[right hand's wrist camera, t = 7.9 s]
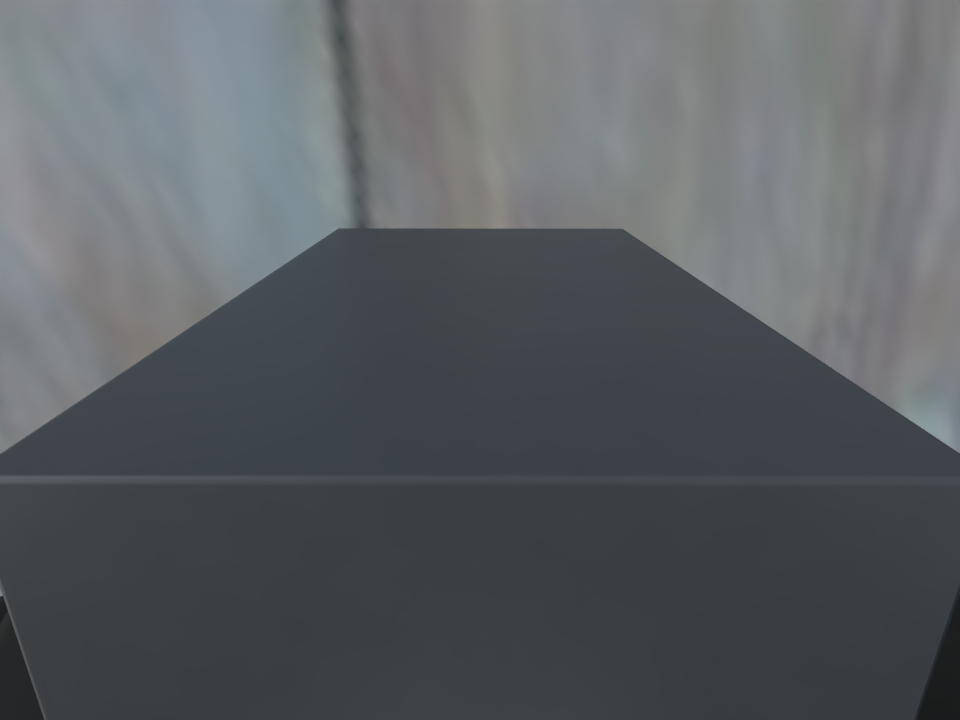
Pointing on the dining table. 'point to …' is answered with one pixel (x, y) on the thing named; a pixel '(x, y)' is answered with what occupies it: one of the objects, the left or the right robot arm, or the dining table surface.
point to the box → (480, 504)
